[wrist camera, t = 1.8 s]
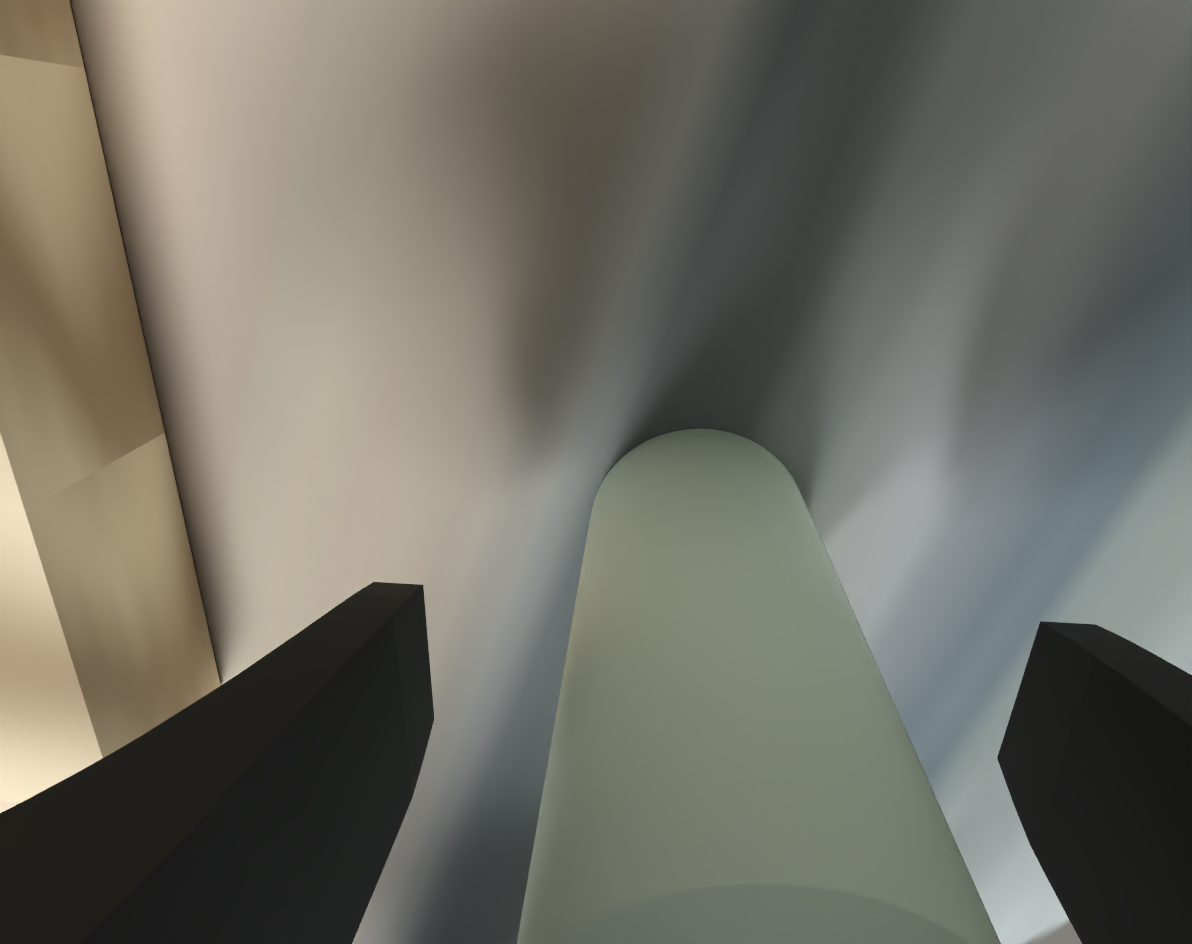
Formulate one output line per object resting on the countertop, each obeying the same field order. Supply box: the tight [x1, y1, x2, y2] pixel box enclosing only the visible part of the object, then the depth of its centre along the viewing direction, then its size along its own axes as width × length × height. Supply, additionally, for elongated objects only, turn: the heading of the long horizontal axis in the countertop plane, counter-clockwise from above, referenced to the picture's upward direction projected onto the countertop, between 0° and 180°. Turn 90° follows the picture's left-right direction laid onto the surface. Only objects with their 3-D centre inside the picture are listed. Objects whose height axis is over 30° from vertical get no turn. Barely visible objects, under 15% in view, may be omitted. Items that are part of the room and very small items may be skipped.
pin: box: [517, 429, 1001, 944], centre depth 9 cm, size 4×4×8 cm
